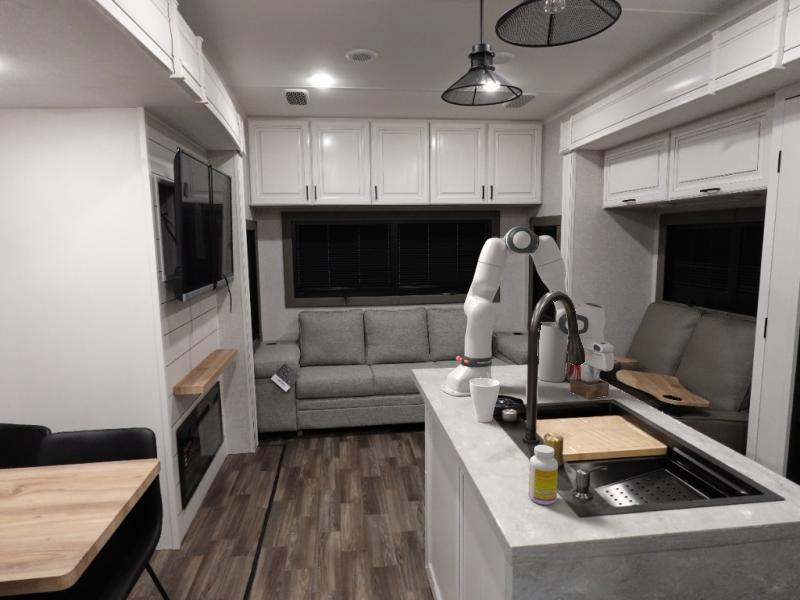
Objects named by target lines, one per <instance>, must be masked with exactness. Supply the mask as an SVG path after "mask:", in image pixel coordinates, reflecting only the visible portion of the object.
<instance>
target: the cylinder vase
mask: <svg viewBox="0 0 800 600" xmlns="http://www.w3.org/2000/svg"><path fill="white" fill-rule="evenodd" d="M541 323H542V325H541V330H540V340H539V379H538V380H540V381H543V382H549V383H560V382H563V381H565V380H566V363H567V354H568V336H569V335H567V334H564V333H563V332H562V331H561V330H560V329H559V327H558V326H557V324H556V321H545V322H544V321H542V322H541Z"/></svg>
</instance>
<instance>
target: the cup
mask: <svg viewBox="0 0 800 600" xmlns="http://www.w3.org/2000/svg"><path fill="white" fill-rule="evenodd" d="M500 386H501V383H500V381H498V380H497V379H494V378H492V379H489V378H476V379H472V380H470V392H471V396H470V398H471V402H472V406H473V411H474V420H475V421H477V422H478V423H491V422H492V421H493V417H494V411H495V407H496V403H497V401H498V398H499V397H498V396H499V392H500Z"/></svg>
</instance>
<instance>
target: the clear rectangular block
mask: <svg viewBox="0 0 800 600" xmlns="http://www.w3.org/2000/svg"><path fill="white" fill-rule="evenodd" d="M594 373H595V370H594V367H591V365H589V364H585V363H583V364H581V381H580V382H582V383H584V384H587V385H593V384H599V380H600V373H599V374H598V378H597V379H594V378H592V374H594Z"/></svg>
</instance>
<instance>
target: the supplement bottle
mask: <svg viewBox="0 0 800 600" xmlns="http://www.w3.org/2000/svg"><path fill="white" fill-rule="evenodd" d="M533 453H534V455H533V456H531V457H530V458H529V469H528V470H529V474H528V497H529V499H530V500H531V501H532V502H534V503H536V504H539V505H544V506H546V505H547V506H548V505H552V504H555V503H556V501H557V496H558V478H559V477H558V475H559V474H558V472H559V471H558V470H559V463H558V461H557V459H556V458H555V449H554V447H552V446H550V445H546V444H538V445H535V446H534V449H533Z"/></svg>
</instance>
